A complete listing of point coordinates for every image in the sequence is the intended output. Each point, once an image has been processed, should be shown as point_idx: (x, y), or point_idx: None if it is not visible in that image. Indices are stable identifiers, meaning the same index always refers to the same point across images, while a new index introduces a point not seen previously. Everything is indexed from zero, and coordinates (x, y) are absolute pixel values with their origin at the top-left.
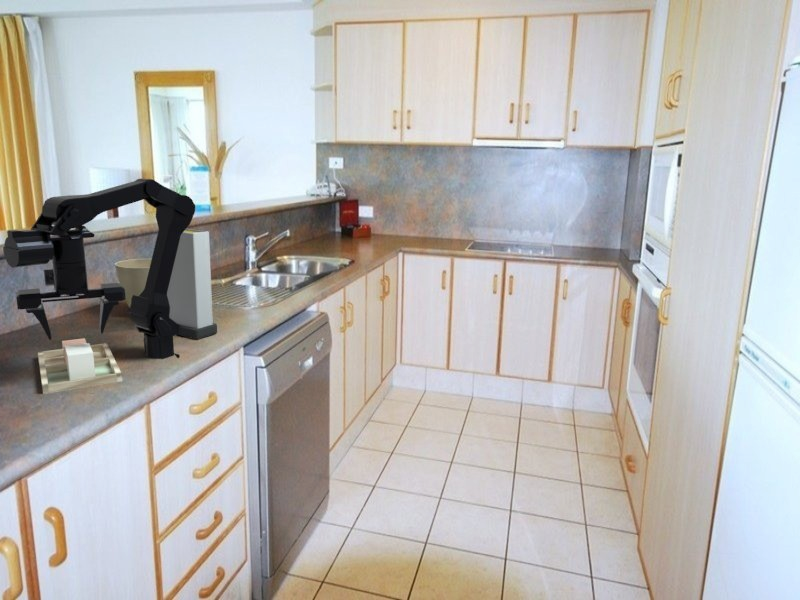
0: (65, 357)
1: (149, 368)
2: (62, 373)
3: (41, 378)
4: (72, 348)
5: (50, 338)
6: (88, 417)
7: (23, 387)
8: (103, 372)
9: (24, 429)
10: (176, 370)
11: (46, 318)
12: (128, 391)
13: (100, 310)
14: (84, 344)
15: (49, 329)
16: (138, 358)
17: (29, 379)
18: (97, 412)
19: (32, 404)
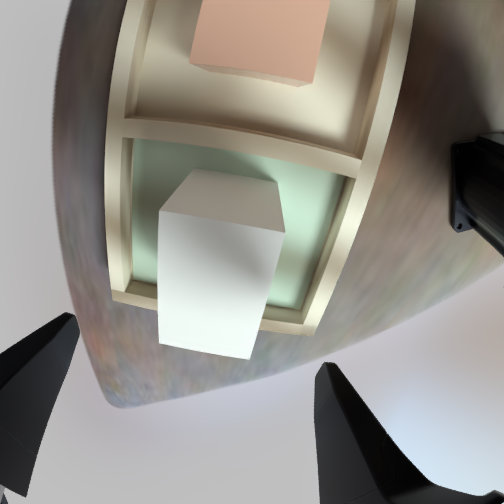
0: (205, 69)
1: (424, 239)
2: (178, 163)
3: (107, 240)
4: (187, 271)
5: (75, 338)
6: (197, 389)
7: (82, 169)
8: (297, 241)
9: (110, 367)
10: (445, 292)
11: (37, 453)
12: (299, 346)
13: (362, 485)
14: (255, 243)
15: (58, 392)
16: (452, 129)
17: (99, 105)
18: (213, 384)
19: (106, 293)
